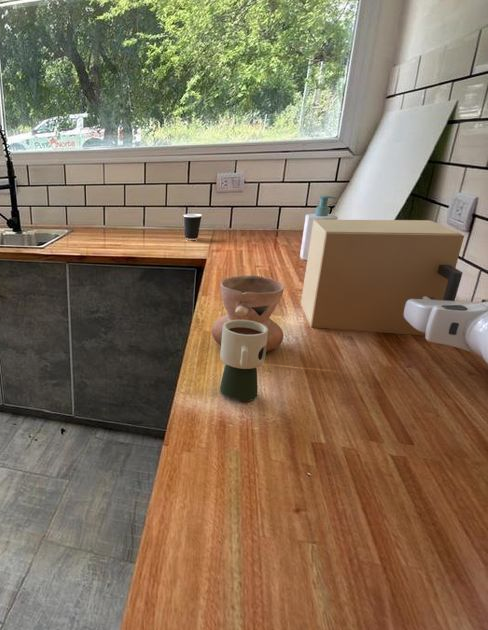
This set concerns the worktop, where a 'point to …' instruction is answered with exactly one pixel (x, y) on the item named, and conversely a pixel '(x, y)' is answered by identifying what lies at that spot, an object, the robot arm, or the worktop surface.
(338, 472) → the worktop surface
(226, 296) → the terracotta hourglass vessel
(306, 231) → the soap bottle
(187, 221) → the dixie cup
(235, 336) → the character mug
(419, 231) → the cupboard
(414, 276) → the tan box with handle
